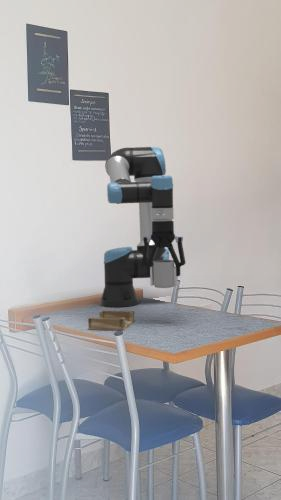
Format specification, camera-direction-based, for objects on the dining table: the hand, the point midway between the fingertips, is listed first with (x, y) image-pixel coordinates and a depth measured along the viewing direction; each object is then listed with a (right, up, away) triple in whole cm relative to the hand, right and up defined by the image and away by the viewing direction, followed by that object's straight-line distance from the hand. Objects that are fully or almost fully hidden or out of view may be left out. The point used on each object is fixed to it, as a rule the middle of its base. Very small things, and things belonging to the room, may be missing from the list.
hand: (164, 285), depth 227 cm
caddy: (-18, -14, -3) cm, 23 cm away
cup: (-1, 0, 0) cm, 1 cm away
